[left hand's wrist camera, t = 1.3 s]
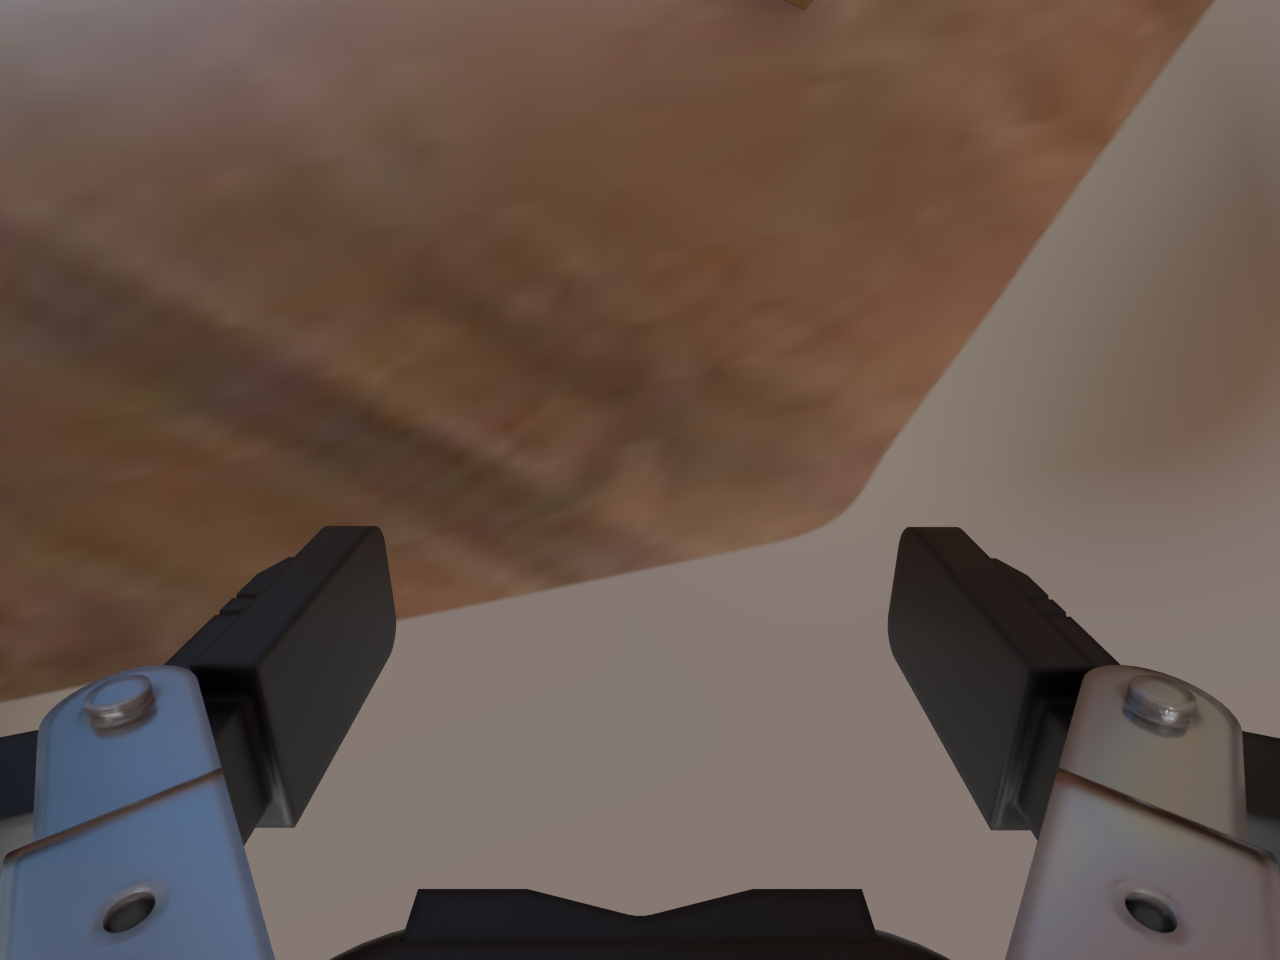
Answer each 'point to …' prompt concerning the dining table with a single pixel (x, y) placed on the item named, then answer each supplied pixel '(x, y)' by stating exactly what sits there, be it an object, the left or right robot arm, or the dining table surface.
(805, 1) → the bar
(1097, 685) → the left robot arm
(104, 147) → the dining table surface
